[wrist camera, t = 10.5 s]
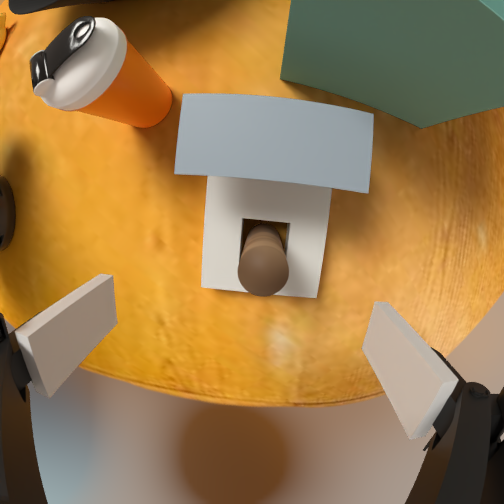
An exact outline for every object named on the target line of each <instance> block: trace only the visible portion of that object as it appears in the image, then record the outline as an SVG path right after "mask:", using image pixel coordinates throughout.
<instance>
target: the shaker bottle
mask: <svg viewBox="0 0 504 504" xmlns="http://www.w3.org/2000/svg"><path fill="white" fill-rule="evenodd" d="M30 71H31V78H32V85H33V92H34V94H35V95H37V96H40V97H41V98H42V100H43V101H44V102H45V103H46V104H47V105H48V106H51V107H54V108H58V109H60V110H63V111H79V112H83V113H87V114H91V115H95V116H99V117H103V118H107V119H110V120H114V121H118V122H121V123H125V124H128V125H132V126H135V127H139V128H148V127H152V126H154V125H156V124H158V123H159V122H161V121H162V120H163V119H164V118H165V117H166V115H167V114H168V112H169V110H170V108H171V105H172V94H171V90H170V89H169V87H168V86H167V85H166V84H165V82H164V81H163V80H162V79H161V78H160V77H159V75H158V74H157V73H156V72H155V71H154V70H153V68H152V67H151V66H150V65H149V64H148V63H147V62H146V60H145V59H144V58H143V57H142V56H141V55H140V54H139V52H138V51H137V50H136V49H135V48H134V47H133V46H132V45H131V43H130V42H129V41H128V40H127V38H126V35H125V33H124V32H123V30H121V29H120V28H119V27H118V26H117V25H116V24H114V23H113V22H112V21H111V20H109V19H106V18H93V17H91V16H84V17H80V18H78V19H76V20H75V21H74V22H72V23H71V24H70V25H69V26H67V27H66V28H65V29H64V30H63V31H62V32H61V33H60V34H59V35H58V36H57V37H56V38H55V39H54V40H53V41H52V42H51V43H50V44H49V46H48V47H47V48H46V49H45V50H41V51H38V52H37V53H35V54H34V55H33V56H32V57H31V59H30Z"/></svg>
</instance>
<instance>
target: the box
mask: <svg viewBox="0 0 504 504" xmlns="http://www.w3.org/2000/svg"><path fill="white" fill-rule="evenodd" d="M280 79H281V80H286V81H290V82H294V83H298V84H302V85H306V86H310V87H313V88H317V89H320V90H324V91H327V92H330V93H333V94H337V95H340V96H343V97H346V98H349V99H352V100H354V101H357V102H360V103H363V104H365V105H368V106H371V107H373V108H376V109H378V110H381V111H383V112H386V113H388V114H390V115H393V116H395V117H397V118H400V119H402V120H404V121H406V122H408V123H411V124H413V125H415V126H417V127H419V128H421V129H422V128H425V127H428V126H432V125H435V124H439V123H442V122H446V121H449V120H453V119H456V118H460V117H464V116H467V115H471V114H475V113H479V112H483V111H487V110H491V109H495V108H499V107H504V0H291V5H290V12H289V19H288V26H287V33H286V40H285V47H284V54H283V61H282V68H281V74H280Z"/></svg>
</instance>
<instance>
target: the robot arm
mask: <svg viewBox="0 0 504 504" xmlns="http://www.w3.org/2000/svg"><path fill="white" fill-rule="evenodd" d="M14 227H15V205H14V198H13V194H12V191H11V188H10V185H9V183H8V182H7V180H6V179H5V178H4V177H3V176H1V175H0V251H1V250H4V249H5V248H7V246H8V245H9V244H10V242H11V239H12V236H13V232H14ZM116 324H117V315H116V306H115V295H114V283H113V275H107V274H99V275H98V276H96V277H95V278H93V279H91V280H90V281H88V282H87V283H85V284H83V285H82V286H80V287H79V288H77V289H76V290H74V291H73V292H71V293H70V294H68V295H66V296H65V297H63V298H62V299H60V300H59V301H57V302H56V303H54V304H53V305H51V306H50V307H48V308H47V309H46V310H44V311H41V312H39V313H38V314H37V315H35V316H34V317H33V318H31V319H29V320H28V321H27V322H25V323H24V324H22V325H21V326H19V327H18V328H17V329H15V330H14V331H12V332H11V333H10V334H8V331H7V327H6V324H5V320H4V316H3V314H2V313H0V504H48V503H47V500H46V496H45V492H44V488H43V485H42V481H41V477H40V472H39V467H38V462H37V457H36V451H35V445H34V438H33V430H32V422H31V412H30V411H31V410H30V392H29V389H28V386H27V384H28V383H29V382H30V381H32V383H33V385H34V388H35V390H36V392H38V393H40V394H42V395H44V396H46V397H48V398H50V397H51V396H52V395H53V394H54V392H55V391H56V390H57V389H58V388H59V387H60V386H61V384H62V383H63V382H64V381H65V380H66V379H67V378H68V376H69V375H70V374H71V373H72V372H73V371H74V370H75V369H76V368H77V366H78V365H79V364H80V363H81V362H82V361H83V360H84V359H85V358H86V357H87V355H88V354H89V353H90V352H91V351H92V350H93V349H94V348H95V347H96V346H97V345H98V343H99V342H100V341H101V340H102V339H103V338H104V337H105V336H106V335H107V334H108V333H109V332H110V331H111V330H112V329H113V328H114V326H115V325H116ZM362 350H363V352H364V354H365V356H366V357H367V359H368V361H369V363H370V365H371V366H372V368H373V370H374V372H375V374H376V376H377V378H378V379H379V381H380V383H381V385H382V387H383V389H384V391H385V393H386V395H387V396H388V399H389V400H390V402H391V404H392V406H393V408H394V410H395V412H396V414H397V416H398V418H399V420H400V422H401V424H402V426H403V428H404V430H405V432H406V434H407V436H408V438H409V440H411V439H415V438H419V437H423V436H426V434H427V433H428V431H429V430H430V428H431V427H432V425H433V426H434V428H435V430H436V432H435V434H434V435H433V437H432V438H431V439H430V441H429V442H428V443H427V445H426V446H425V448H424V449H423V450H424V451H425V450H426V449H427V448H428V447H429V448H428V451H427V454H426V456H425V459H424V461H423V464H422V467H421V469H420V472H419V474H418V476H417V479H416V481H415V483H414V486H413V488H412V490H411V492H410V494H409V496H408V498H407V500H406V502H405V504H504V440H503V441H502V442H501V439H500V436H501V435H502V434H503V433H504V387H503V389H502V390H501V392H500V394H490V391H489V390H488V389H487V388H486V387H485V386H483V385H481V384H479V383H476V382H468V383H466V381H465V380H464V379H463V378H462V377H461V376H460V375H459V373H458V372H457V371H456V370H455V369H454V368H453V367H452V366H451V365H450V363H449V362H448V361H446V359H445V358H444V357H443V355H442V354H441V353H440V352H438V351H436V350H435V349H433V348H432V347H430V346H429V345H428V344H427V343H426V342H425V341H424V340H423V339H422V338H421V337H420V335H419V334H418V333H417V332H416V331H415V330H414V329H413V328H412V327H411V326H410V325H409V324H408V323H407V322H406V320H405V319H404V318H403V317H402V316H401V315H400V314H399V313H398V312H397V311H396V310H395V309H394V308H393V307H392V306H391V305H390V304H389V303H388V302H375V303H374V307H373V311H372V314H371V318H370V322H369V325H368V329H367V332H366V336H365V339H364V343H363V346H362Z"/></svg>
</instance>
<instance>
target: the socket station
mask: <svg viewBox="0 0 504 504" xmlns="http://www.w3.org/2000/svg"><path fill="white" fill-rule="evenodd" d="M373 121H374V114H372V113H368V112H364V111H360V110H355V109H350V108H345V107H340V106H335V105H330V104H324V103H318V102H311V101H304V100H297V99H289V98H280V97H270V96H258V95H242V94H183V99H182V106H181V114H180V122H179V130H178V139H177V149H176V159H175V171H174V174H179V175H201V176H208V178H207V191H206V204H205V219H204V236H203V256H202V280H201V287H205V288H214V289H223V290H232V291H241V292H248V291H247V290H245V289H244V288H243V286H242V285H241V283H240V281H239V279H238V273H237V271H238V265H239V262H240V259H241V251H242V239H243V227H244V218H245V219H256V220H266V221H276V222H286V223H287V232H286V240H285V249H284V253H285V256H286V260H287V263H288V267H289V277H288V280H287V282H286V284H285V286H284V287H283V288H282V289H281V290H280V291H279V292H277V293H275V294H273V295H284V296H296V297H308V298H317V292H318V286H319V280H320V274H321V268H322V262H323V255H324V248H325V242H326V234H327V227H328V219H329V211H330V202H331V193H332V188H334V189H340V190H347V191H353V192H360V193H368V192H369V182H370V171H371V159H372V144H373Z"/></svg>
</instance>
